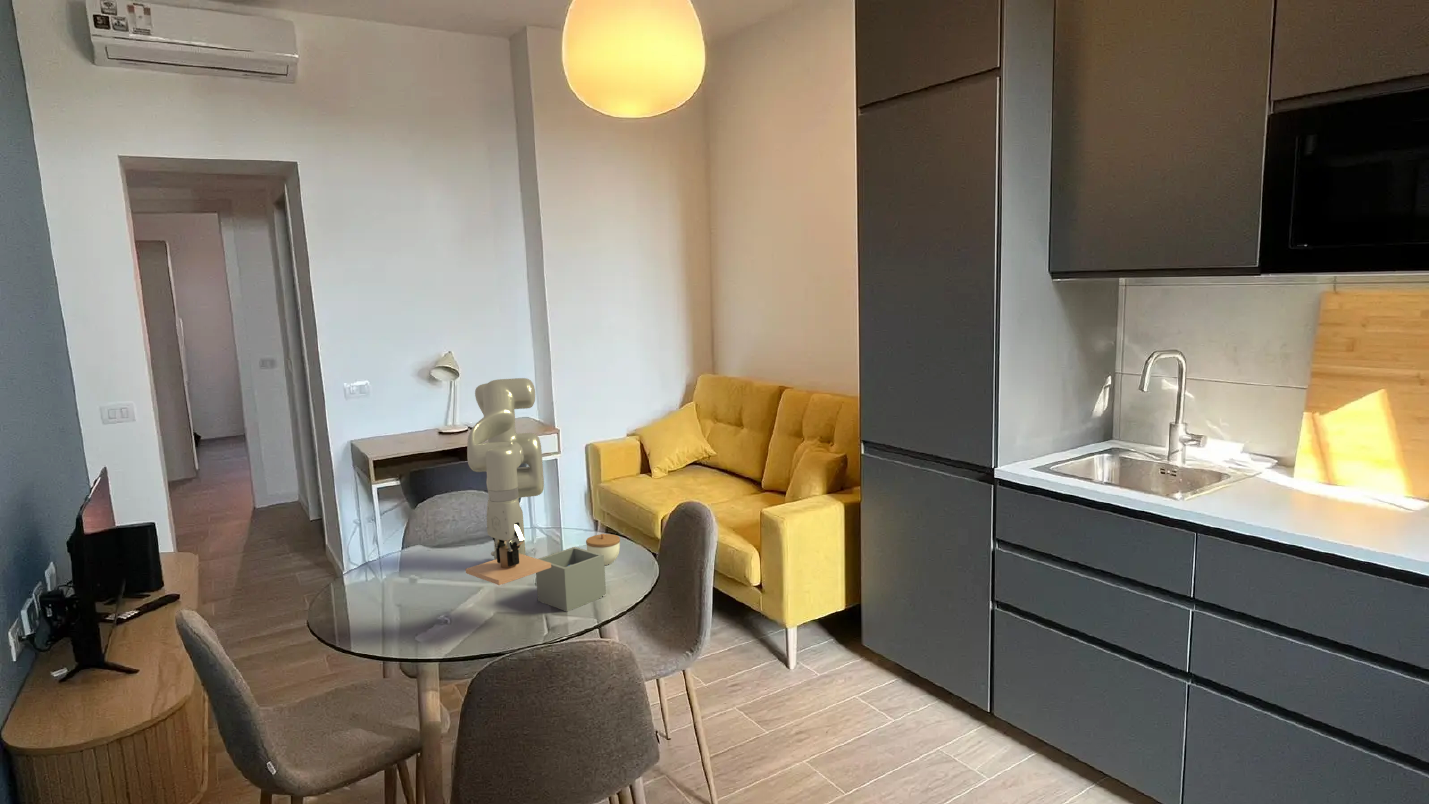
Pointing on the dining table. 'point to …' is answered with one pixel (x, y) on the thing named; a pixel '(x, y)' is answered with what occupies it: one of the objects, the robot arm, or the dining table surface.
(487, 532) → the robot arm
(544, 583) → the storage box
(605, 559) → the lidded jar
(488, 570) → the lid
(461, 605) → the dining table surface
